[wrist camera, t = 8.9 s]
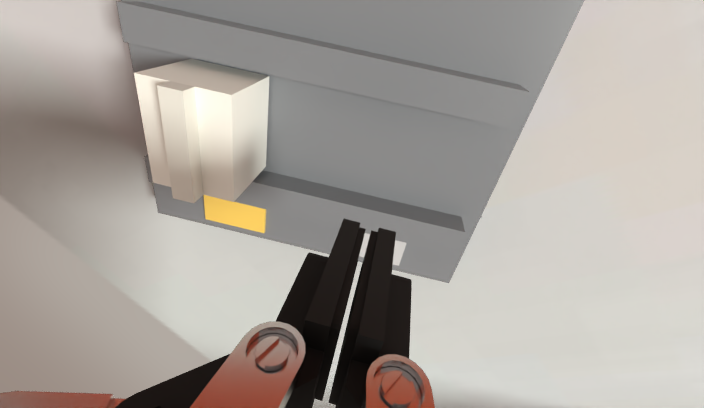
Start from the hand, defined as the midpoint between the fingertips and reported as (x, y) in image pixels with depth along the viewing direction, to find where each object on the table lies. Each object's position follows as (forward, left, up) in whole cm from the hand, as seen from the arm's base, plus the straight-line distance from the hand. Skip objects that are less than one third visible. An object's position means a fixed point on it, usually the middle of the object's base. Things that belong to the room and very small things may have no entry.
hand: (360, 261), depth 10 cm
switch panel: (+4, 0, -10) cm, 11 cm away
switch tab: (+8, 0, -8) cm, 12 cm away
